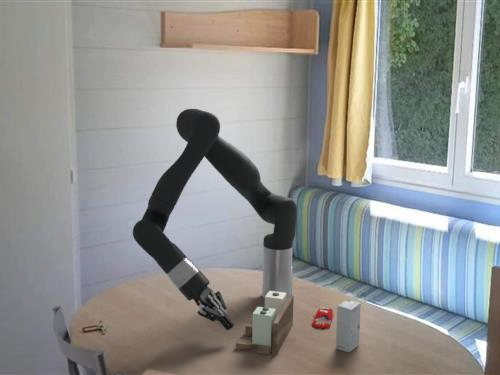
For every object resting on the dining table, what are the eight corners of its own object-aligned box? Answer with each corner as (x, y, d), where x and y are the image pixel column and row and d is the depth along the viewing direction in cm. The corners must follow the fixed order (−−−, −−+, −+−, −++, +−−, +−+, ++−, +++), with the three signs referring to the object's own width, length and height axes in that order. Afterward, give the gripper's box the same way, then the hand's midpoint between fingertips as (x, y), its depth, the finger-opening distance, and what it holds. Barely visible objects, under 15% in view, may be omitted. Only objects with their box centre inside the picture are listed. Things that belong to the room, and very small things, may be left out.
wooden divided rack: (221, 351, 167) (221, 315, 165) (242, 322, 185) (242, 290, 183) (276, 359, 163) (277, 323, 161) (292, 329, 181) (293, 296, 179)
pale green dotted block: (252, 349, 166) (252, 312, 163) (256, 341, 170) (257, 305, 168) (270, 352, 164) (271, 314, 162) (275, 344, 169) (276, 307, 167)
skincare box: (349, 353, 167) (352, 310, 165) (334, 348, 170) (336, 305, 167) (359, 344, 172) (362, 302, 170) (344, 340, 175) (347, 298, 172)
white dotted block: (264, 330, 177) (264, 295, 175) (268, 323, 181) (269, 289, 179) (281, 333, 175) (282, 297, 173) (285, 326, 180) (286, 291, 178)
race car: (328, 336, 178) (329, 322, 177) (309, 333, 179) (310, 320, 178) (335, 317, 190) (336, 304, 189) (317, 315, 192) (318, 302, 191)
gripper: (188, 278, 162) (233, 329, 161) (206, 262, 174) (248, 310, 173) (169, 295, 164) (213, 346, 163) (187, 278, 177) (229, 325, 176)
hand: (231, 327), depth 168 cm, fingers closed
